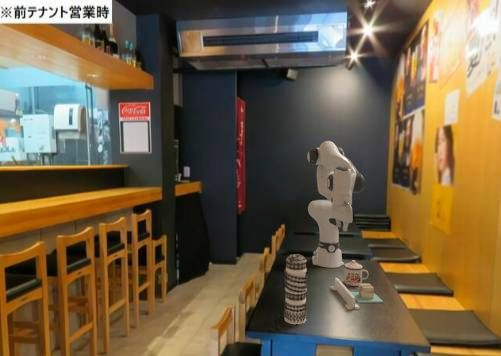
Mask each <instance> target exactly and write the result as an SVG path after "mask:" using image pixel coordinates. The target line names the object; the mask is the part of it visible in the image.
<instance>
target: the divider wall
mask: <svg viewBox="0 0 501 356" xmlns="http://www.w3.org/2000/svg"><path fill="white" fill-rule="evenodd" d="M330 287H331V288H330V289H331V290H332V291H337V293H338V294H339V295H340V296H341V297H342V299H343V300H344V301H345V302H346V303H345V306H344V307H345V308H346V309H347V310H348V311H349V310H352V311H353V310H356V311H358V310H360V309H361V308H360V306H359V304H358V303H356V300H355V297H354V296H353V295H352V293H351V292H352V291H350V290H349V289H348V288H347V287H346V285H345V284H344V283H343V282H342V281H341V280H340V279H339V278H338V277H335V278H334V285H331V286H330Z"/></svg>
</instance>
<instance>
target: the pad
mask: <svg viewBox="0 0 501 356" xmlns="http://www.w3.org/2000/svg"><path fill="white" fill-rule="evenodd" d="M350 292H351V293H352V295H353V296H354V297H355V302H357V304H374V303H375V304H377V303H378V304H383V303H384V301H383V299H381V298H380V297H379V296H378V295H377V294H376V293H375V292H374V299H362V298H361V296H360V295H359V291H350Z"/></svg>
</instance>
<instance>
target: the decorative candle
mask: <svg viewBox="0 0 501 356" xmlns="http://www.w3.org/2000/svg"><path fill="white" fill-rule="evenodd" d="M285 261H286V264H285V269H283V273H284V275H283V276H284V279H283V280H284V291H285V300H284V301H283V302H284V305H283V306H284V311H283V312H284V314H283V316H284V321H285V323H287V324H291V325H296V324H298V325H303V324H305V323H306V322H307V297H306V292H307V290H308V289H307V288H308V285H307V284H308V279H309V277H308V276H307V275H308V273H309V271H308V270H307V261H308V259H306V258H305V256H304V255H302V254H299V253H293V254H289V255H288V257H287V258H286V259H285ZM305 321H306V322H305ZM302 323H303V324H302Z"/></svg>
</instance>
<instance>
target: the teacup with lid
mask: <svg viewBox="0 0 501 356" xmlns="http://www.w3.org/2000/svg"><path fill="white" fill-rule="evenodd" d="M343 267H344V270H343V271H344V272H343V273H344V274H343V275H344V277H343V282H344V283H343V284H344V285H345V284H346V285H347V286H351V287H359V284H363V280H367V279H368V278H369V275H370V274H369V271H368V270H367V269H364V268H363V265H362V264H359V262H356V260H354V259H353V260H351V261H350V262H347V263H344V265H343ZM363 272H365V273H366V276H365V277H363Z"/></svg>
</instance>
